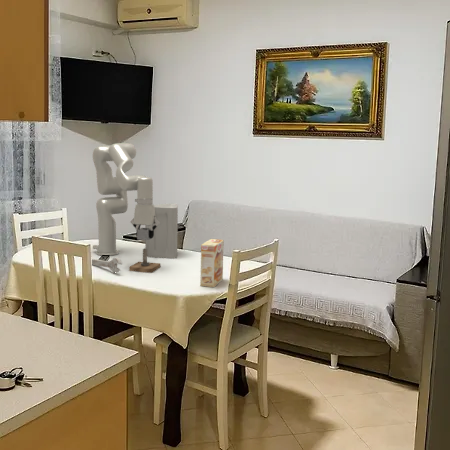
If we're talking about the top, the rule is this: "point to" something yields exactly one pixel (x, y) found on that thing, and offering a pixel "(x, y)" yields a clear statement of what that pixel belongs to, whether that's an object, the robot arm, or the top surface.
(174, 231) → the upright grey panel
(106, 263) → the wrench
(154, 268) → the shaft block
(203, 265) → the coffeecake box
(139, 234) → the grey slotted block
